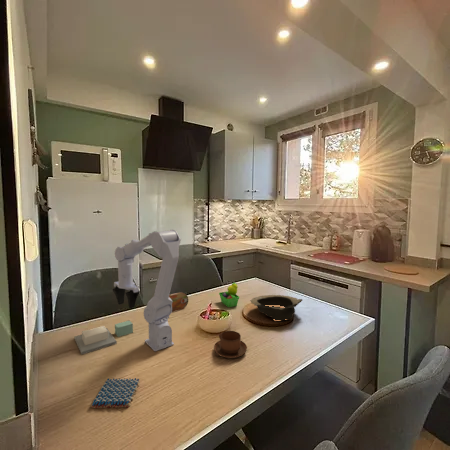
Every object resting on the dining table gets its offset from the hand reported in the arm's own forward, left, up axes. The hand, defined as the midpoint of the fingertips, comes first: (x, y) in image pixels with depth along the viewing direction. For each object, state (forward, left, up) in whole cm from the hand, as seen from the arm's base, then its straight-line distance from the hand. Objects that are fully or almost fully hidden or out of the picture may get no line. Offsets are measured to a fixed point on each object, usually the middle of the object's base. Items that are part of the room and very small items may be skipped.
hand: (126, 305), depth 111 cm
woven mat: (-38, +15, -11) cm, 42 cm away
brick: (-3, +2, -10) cm, 11 cm away
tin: (+6, -26, -11) cm, 29 cm away
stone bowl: (-29, -63, -11) cm, 70 cm away
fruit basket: (-5, -54, -11) cm, 55 cm away
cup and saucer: (-41, -24, -11) cm, 49 cm away
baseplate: (-3, +13, -10) cm, 17 cm away
